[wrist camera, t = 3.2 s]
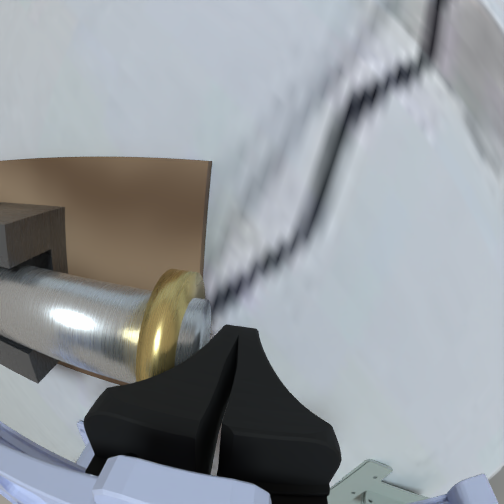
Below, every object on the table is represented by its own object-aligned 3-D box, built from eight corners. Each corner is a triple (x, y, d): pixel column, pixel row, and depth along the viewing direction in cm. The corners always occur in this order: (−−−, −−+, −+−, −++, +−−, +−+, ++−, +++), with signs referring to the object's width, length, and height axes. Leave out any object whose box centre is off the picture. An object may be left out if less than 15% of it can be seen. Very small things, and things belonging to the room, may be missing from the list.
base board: (198, 395, 18) (195, 403, 17) (-31, 315, 19) (-36, 318, 18) (212, 161, 14) (208, 161, 13) (-49, 166, 15) (-55, 167, 14)
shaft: (212, 363, 15) (183, 451, 9) (1, 305, 16) (-54, 342, 10) (219, 254, 13) (179, 319, 8) (-12, 223, 14) (-78, 247, 8)
